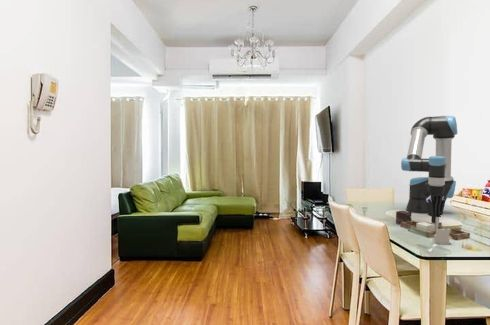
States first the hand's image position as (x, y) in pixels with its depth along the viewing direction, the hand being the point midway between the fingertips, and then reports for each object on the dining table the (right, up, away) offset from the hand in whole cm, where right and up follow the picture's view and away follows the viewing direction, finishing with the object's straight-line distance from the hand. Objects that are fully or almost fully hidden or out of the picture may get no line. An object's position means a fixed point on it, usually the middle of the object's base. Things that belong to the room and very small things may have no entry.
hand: (435, 228), depth 169 cm
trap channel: (-1, -2, 0) cm, 2 cm away
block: (-6, -2, -2) cm, 7 cm away
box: (-9, -1, +16) cm, 18 cm away
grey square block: (-8, -4, -19) cm, 21 cm away
